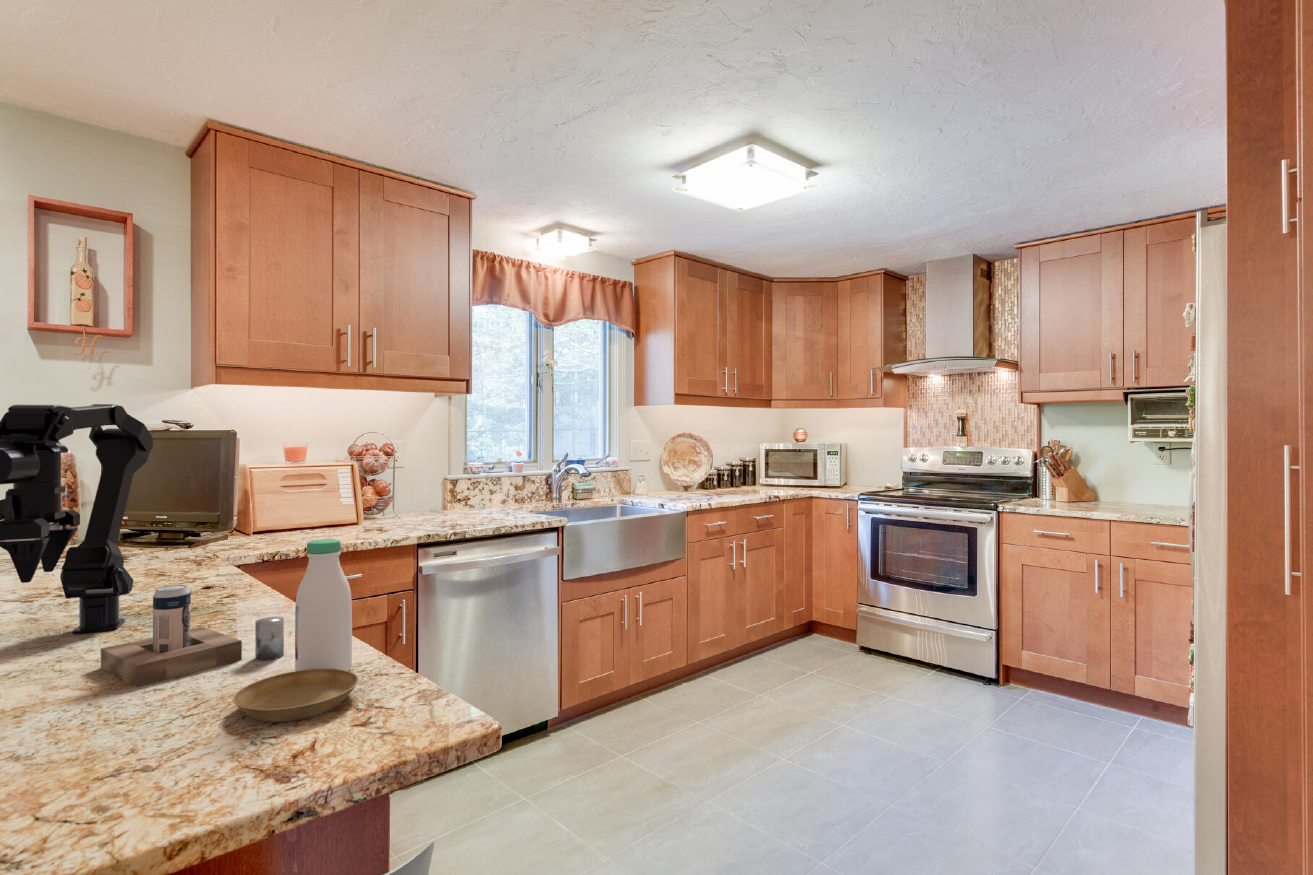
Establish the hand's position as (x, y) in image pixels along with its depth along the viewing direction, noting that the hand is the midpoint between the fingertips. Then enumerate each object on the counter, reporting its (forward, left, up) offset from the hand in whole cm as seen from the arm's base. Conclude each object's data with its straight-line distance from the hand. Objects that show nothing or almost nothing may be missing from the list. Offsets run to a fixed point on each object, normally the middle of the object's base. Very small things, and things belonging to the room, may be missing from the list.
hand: (37, 576), depth 108 cm
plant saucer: (+41, +39, -14) cm, 58 cm away
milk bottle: (+29, +42, -13) cm, 53 cm away
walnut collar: (+14, +20, -13) cm, 28 cm away
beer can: (+14, +20, -13) cm, 28 cm away
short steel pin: (+17, +34, -13) cm, 40 cm away
